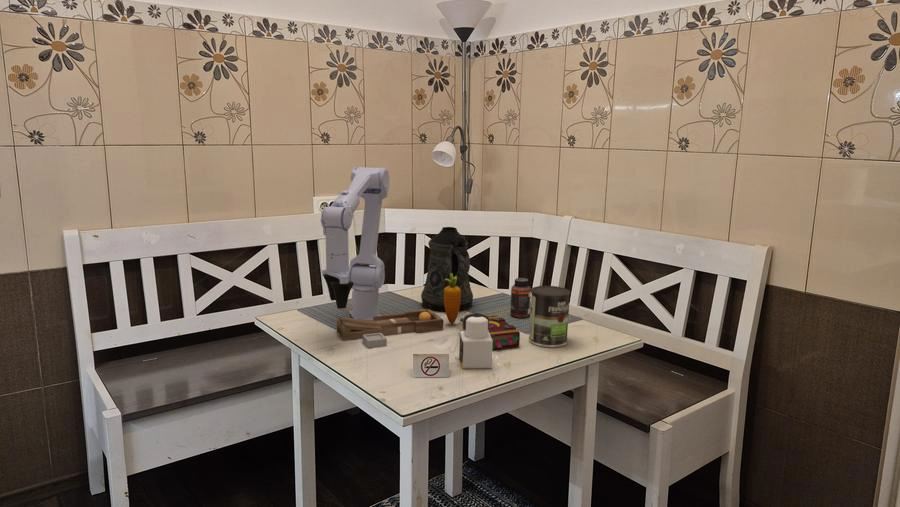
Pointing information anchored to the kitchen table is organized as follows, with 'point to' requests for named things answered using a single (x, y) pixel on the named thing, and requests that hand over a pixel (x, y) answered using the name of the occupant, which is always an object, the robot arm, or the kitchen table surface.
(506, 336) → the decorative book
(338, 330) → the brown wooden shallow tray
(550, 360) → the kitchen table surface
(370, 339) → the gray box
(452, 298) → the carrot
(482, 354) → the medicine bottle
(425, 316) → the ball
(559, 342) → the coffee can
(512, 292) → the supplement bottle
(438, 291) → the beer stein
